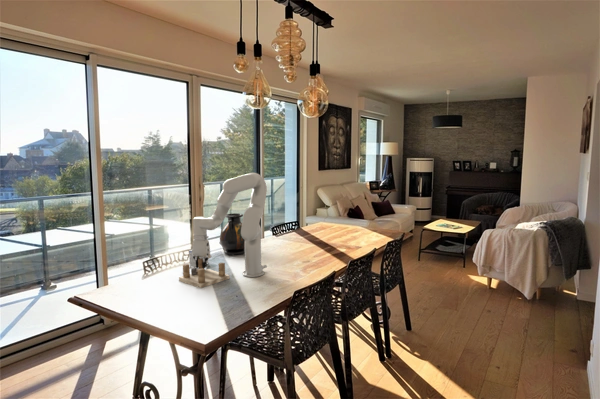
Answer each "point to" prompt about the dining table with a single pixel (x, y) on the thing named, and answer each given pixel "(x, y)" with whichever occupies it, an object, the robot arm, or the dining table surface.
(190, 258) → the light bulb box
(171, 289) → the dining table surface
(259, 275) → the robot arm
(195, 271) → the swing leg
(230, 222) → the amphora vase
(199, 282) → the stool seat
